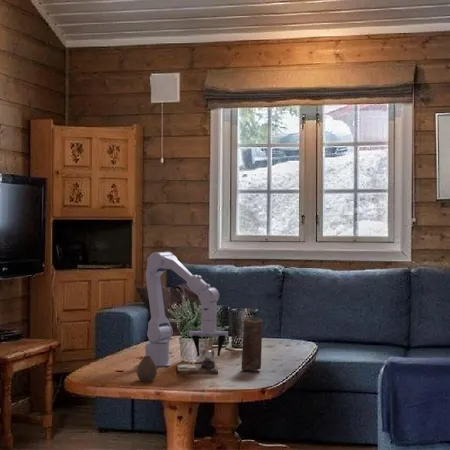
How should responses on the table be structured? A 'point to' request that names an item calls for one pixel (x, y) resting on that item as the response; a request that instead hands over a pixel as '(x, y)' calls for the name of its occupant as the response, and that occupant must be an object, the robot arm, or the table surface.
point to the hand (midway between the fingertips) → (208, 355)
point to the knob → (207, 356)
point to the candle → (252, 344)
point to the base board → (198, 368)
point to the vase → (146, 369)
